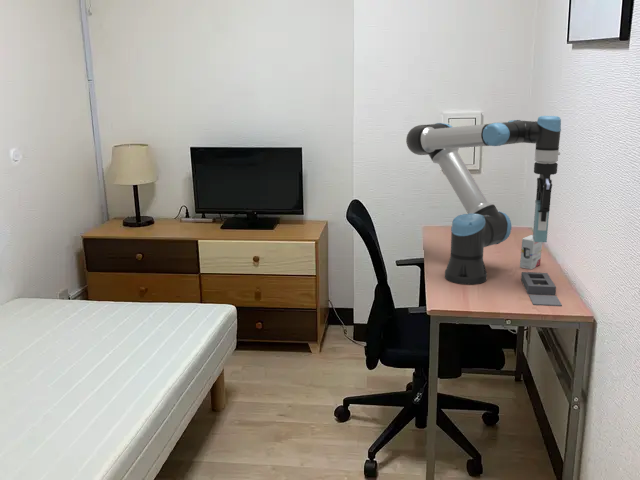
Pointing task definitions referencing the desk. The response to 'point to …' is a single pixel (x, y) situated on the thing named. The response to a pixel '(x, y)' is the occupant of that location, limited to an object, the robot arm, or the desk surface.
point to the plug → (537, 234)
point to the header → (538, 283)
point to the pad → (545, 300)
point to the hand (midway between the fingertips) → (540, 228)
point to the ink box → (530, 253)
